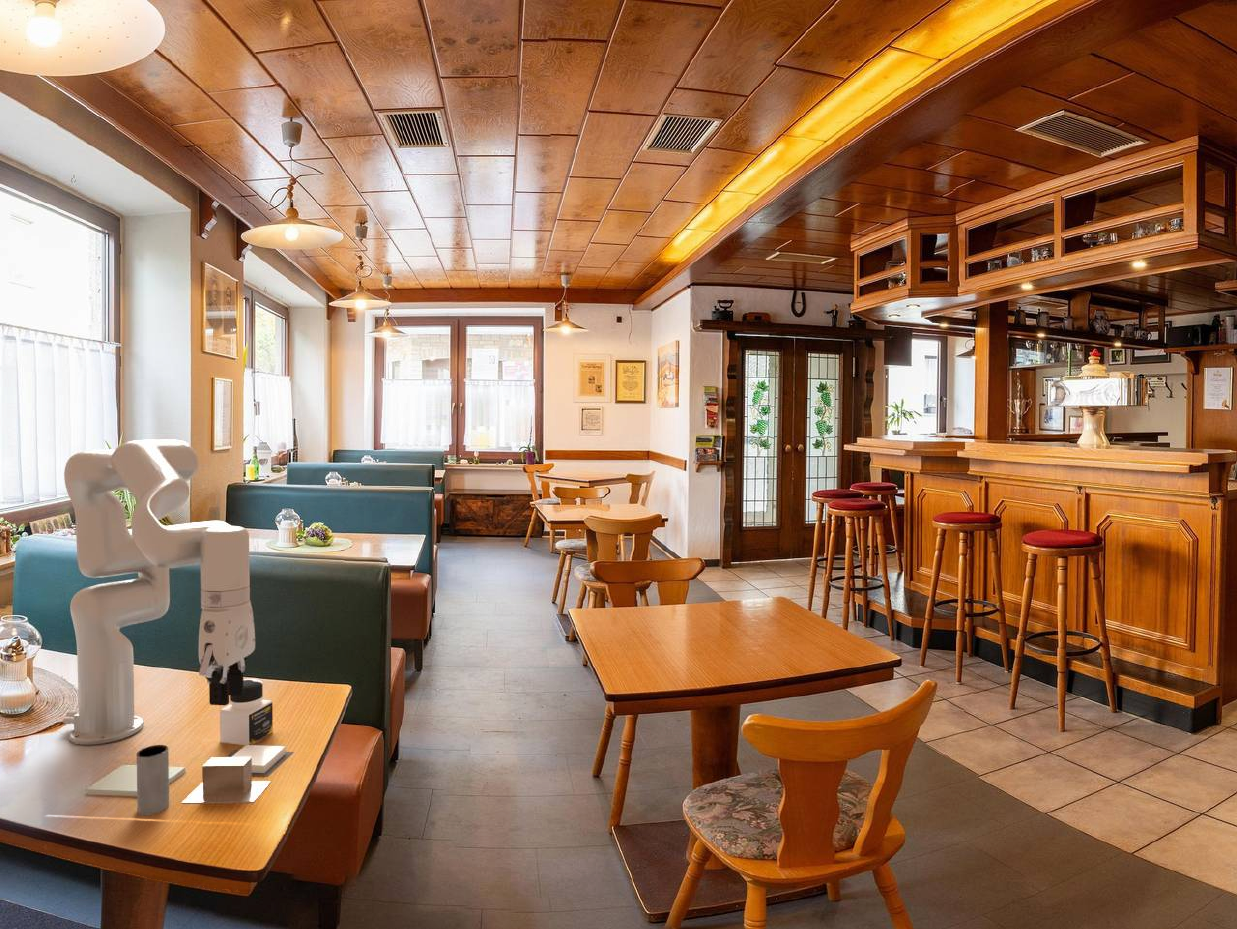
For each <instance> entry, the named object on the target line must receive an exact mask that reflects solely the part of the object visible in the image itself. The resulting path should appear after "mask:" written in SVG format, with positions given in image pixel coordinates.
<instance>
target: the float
mask: <svg viewBox="0 0 1237 929" xmlns="http://www.w3.org/2000/svg"><path fill="white" fill-rule="evenodd" d="M201 768H202V771H201V772H202V776H201V777H202V782H201V783H200V784H199V786H197V787H196V788H195V789H194V790H193V791H192V792H191V793H190V794H189V795H188V796H187V797H186V798H185V799H184V800H182V802H181V803H182V804H227V803H228V804H232V803H233V804H235V803H237V804H239V803H247V804H248V803H255V802H256V800H257V799H258V798H259V797H260V796H261V794H262V793H263V792H264V791H265V790H266V789H267V787H268V786H269V785H270V783H271V780H268V781H267V780H265V781H264V780H261V781H257V780H255V781H253V776H252V757H227V756H224V757H221V756H218V757H216V756H215V757H212V756H211V757H210V758H209V759H208V760H207V761H206V762H204V763H203V765H202V766H201Z"/></svg>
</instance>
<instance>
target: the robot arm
mask: <svg viewBox="0 0 1237 929" xmlns="http://www.w3.org/2000/svg"><path fill="white" fill-rule="evenodd" d="M198 469H199V456H198V454H197V452H196V450H195V449H194V448H193V446H192V445H191V444H189V443H188V442H186V441H184V440H178V439H142V440H141V439H140V440H139V439H138V440H137V439H136V440H131V441H126V442H124V443H122V444H120V445H118V446H117V447H116V448H115V449H113V448H112V449H111V448H110V449H95V450H94V449H93V450H87V451H86V450H85V451H81V452H78V453H75V454H73V455H71V456H70V457H69V458H68V460H67V461H66V464H65V466H64V473H63V476H64V478H63V480H64V485H65V488H66V493H67V495H68V497H69V499H70V502H71V504H72V507H73V510H74V515H75V531H76V532H75V534H76V535H75V537H76V540H75V541H76V555H77V556H76V557H77V564H78V569H79V571H80V572H81V574H82V575H83V576H85V577H87V578H90V579H96V578H97V579H98V578H99V579H100V578H108V577H117V576H123V575H129V574H137V575H138V578H132V579H125V580H118V581H110V582H106V583H105V582H104V583H99V584H95V585H91V586H88V587H85V588H82V589H81V590H79V591H77V592H76V593H75V594H74V595H73V597H72V598H71V601H70V616H71V619H72V623H73V628H74V633H75V639H76V640H75V641H76V654H77V658H76V659H77V661H76V662H77V688H78V690H77V692H78V693H77V694H78V695H77V696H78V698H77V700H78V710H74V709H73V710H68V711H67V712H66V715H65V716H64V718H63V720H62V724H65V725H66V724H67V725H72V724H73V729H72V730H71V731H70V733H69V741H70V742H72V743H73V744H76V745H83V746H92V745H101V744H102V745H103V744H108V743H112V742H117V741H119V740H122V739H125V738H129V737H131V736H133V735H135V734H136V733H138V732H139V731H141V730H142V728H143V727H144V719H143V718H141V717H140V716H137V715H135V680H134V678H135V676H134V673H135V672H134V671H135V670H134V647H133V644H132V642H131V640H129V638H127V637H126V636H125V635H124V634H123V633H121V630H120V629H121V628H123V627H128V626H131V625H136V624H141V623H145V622H150V621H154V620H157V619H160V618H162V617H163V616H165V615H166V614H167V612H168V611H169V607H170V604H171V603H170V602H171V592H170V591H171V589H170V588H171V586H170V585H171V584H170V583H171V582H170V569H176V568H182V567H188V566H189V567H190V566H194V565H195V566H197V565H200V608H201V614H200V621H199V622H200V624H199V631H198V632H199V633H198V660H199V664H200V668H199V672H198V675H199V676H201V677H204V678H205V679H206V682H207V683H206V684H209V688H208V689H209V691H208V692H209V695H208V696H209V697H208V698H209V699H208V700H209V705H210V706H228V705H230V695H234V696H241V695H242V694H243V693H244V689H243V680H244V672H245V671H246V670H245V669H246V665H245V664H246V660H247V659H248V656H250V655H252V653H254V651H255V649H256V631H255V620H254V619H255V618H254V611H253V607H252V602H251V596H250V594H251V587H250V583H251V582H250V580H251V579H250V575H251V574H250V535H249V534H250V533H249V531H248V530H247V528H245V527H244V526H243V527H242V526H240V525H239V526H237V525H232V524H230V523H227V522H225V521H223V520H207V521H199V522H198V521H195V522H187V523H186V522H185V523H177V524H168V525H167V524H166V525H165V524H164V525H163V524H162V523H161V522H160V520H162V519H163V518H166V517H167V516H169V515H171V514H173V513H175V512H177V511H178V510H179V509H181V508H182V507H183V506H184V505H185V503H186V502H187V500H188V498H189V497H190V486H189V484H188V483H187V482H188V481H190V480H192V479H193V478H194V477H195V475H196V474H197V472H198ZM115 491H117V492H118V491H119V492H120V491H129V492H130V494H131V495H132V497H133V498H134V500H135V501H136V505H135V507H134V509H133V512H132V515H131V520H130V528H127V512H126V511H127V510H126V509H125V508H126V507H125V506H124V503H123V502H122V501H121V500H120V499H119V498H118V497H117V496H116V495H115V494H114V492H115ZM216 669H217V670H216ZM218 670H220V671H218Z"/></svg>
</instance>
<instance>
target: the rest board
mask: <svg viewBox="0 0 1237 929" xmlns="http://www.w3.org/2000/svg"><path fill="white" fill-rule="evenodd" d="M185 773H186V767H185V766H169V785H170V784H172V783H174V781H176V780H177V779H178V778H179V777H182V775H184V774H185ZM85 795H90V796H91V795H94V796H96V795H98V796H113V797H114V796H117V797H119V796H120V797H137V764H122V765H121V766H119V767H117V768H116V769H114V770H113V771H111V772H110V773H108V774H107V775H105V776H104V777H102V778H100V779H99V780H96V781H95V783H93V784H91V785H89V786H88V787H87V788H85Z"/></svg>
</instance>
